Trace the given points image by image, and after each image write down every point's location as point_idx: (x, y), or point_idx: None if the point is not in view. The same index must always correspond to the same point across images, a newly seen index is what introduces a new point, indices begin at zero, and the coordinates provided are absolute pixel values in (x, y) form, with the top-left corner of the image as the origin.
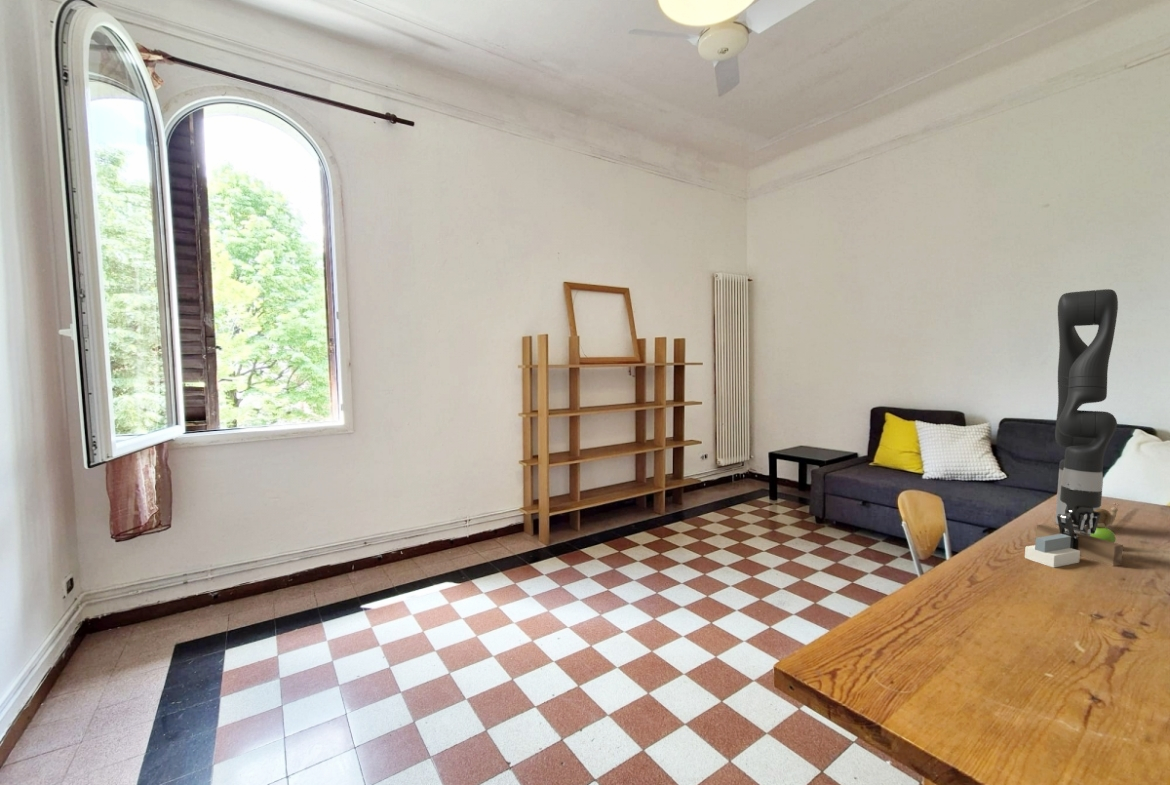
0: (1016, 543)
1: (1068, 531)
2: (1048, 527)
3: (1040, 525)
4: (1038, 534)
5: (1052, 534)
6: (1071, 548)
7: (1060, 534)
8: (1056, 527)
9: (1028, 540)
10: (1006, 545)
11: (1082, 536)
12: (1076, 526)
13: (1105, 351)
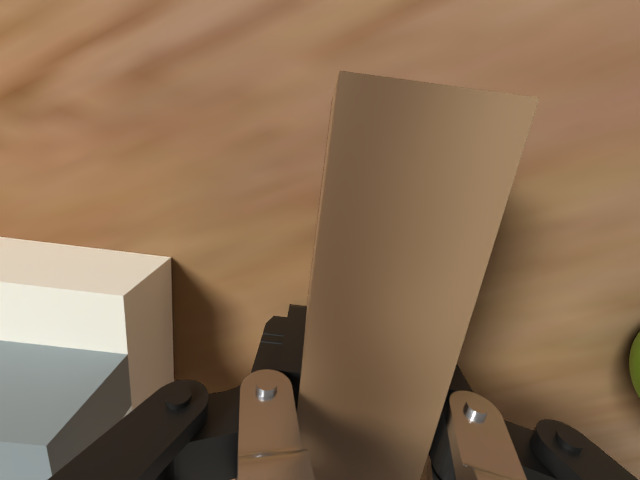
0: (150, 30)
1: (172, 475)
2: (372, 202)
3: (374, 107)
4: (331, 114)
5: (316, 245)
6: (126, 414)
7: (4, 453)
8: (469, 248)
9: (345, 40)
10: (4, 15)
11: (332, 468)
12: (461, 476)
13: None
